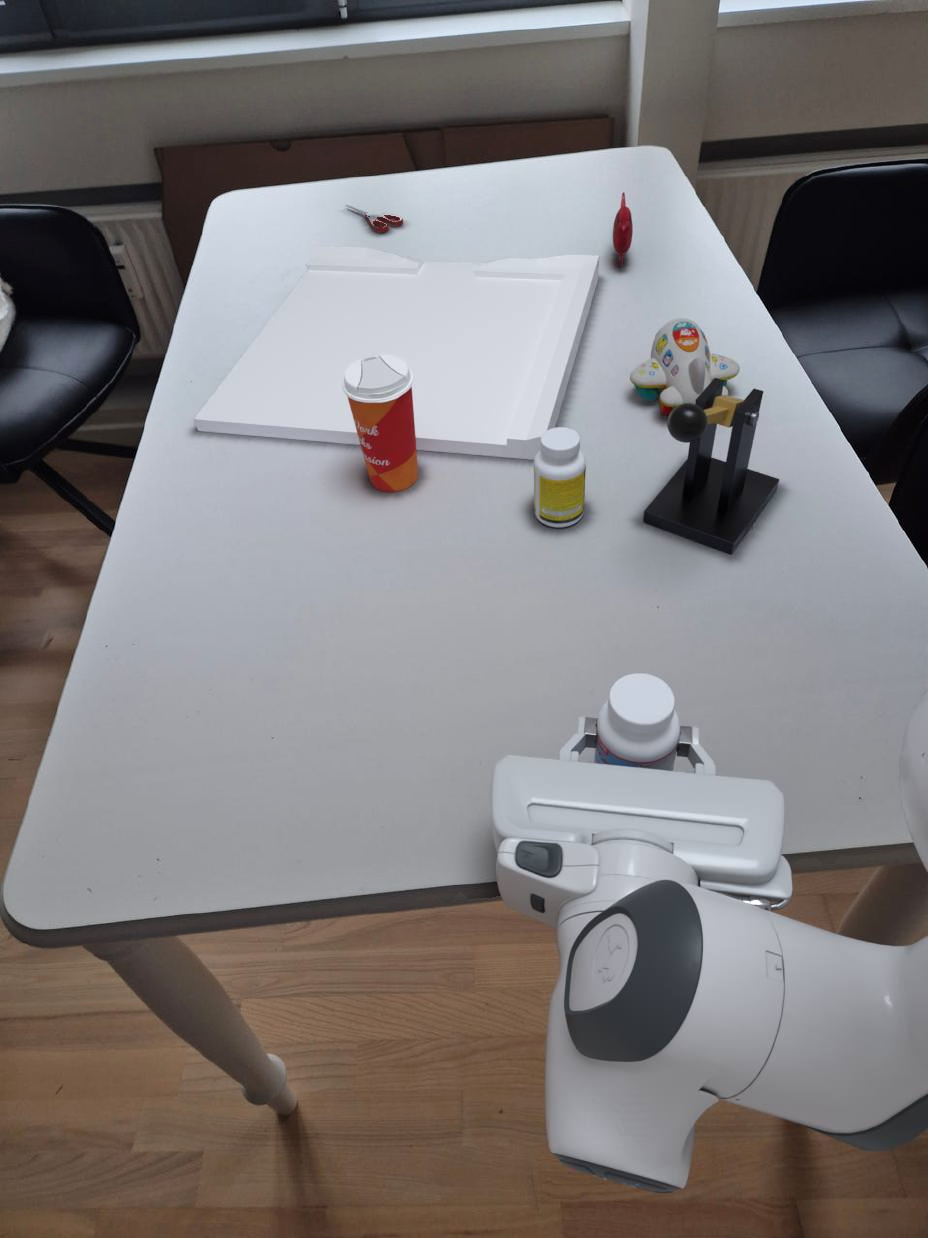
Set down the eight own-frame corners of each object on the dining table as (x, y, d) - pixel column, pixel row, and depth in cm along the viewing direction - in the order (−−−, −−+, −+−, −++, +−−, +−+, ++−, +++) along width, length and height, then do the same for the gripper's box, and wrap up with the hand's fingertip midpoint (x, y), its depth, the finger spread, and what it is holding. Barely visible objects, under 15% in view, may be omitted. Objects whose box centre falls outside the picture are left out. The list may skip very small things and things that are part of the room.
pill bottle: (580, 765, 71) (583, 680, 63) (646, 741, 72) (658, 654, 64) (614, 826, 67) (622, 744, 59) (684, 799, 68) (701, 714, 60)
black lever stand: (731, 554, 88) (754, 442, 78) (642, 521, 92) (653, 411, 82) (776, 489, 94) (803, 378, 84) (691, 461, 98) (707, 352, 88)
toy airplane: (647, 375, 96) (621, 303, 106) (639, 438, 103) (615, 365, 113) (765, 364, 96) (728, 293, 106) (749, 427, 103) (716, 355, 113)
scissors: (380, 234, 146) (380, 228, 145) (334, 212, 154) (333, 207, 153) (405, 223, 148) (405, 217, 148) (358, 202, 156) (357, 197, 155)
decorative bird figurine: (610, 283, 129) (614, 214, 121) (612, 231, 140) (615, 166, 133) (630, 282, 128) (635, 214, 121) (630, 231, 140) (634, 165, 133)
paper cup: (355, 466, 103) (333, 361, 92) (417, 450, 104) (402, 345, 94) (370, 505, 98) (348, 398, 87) (435, 489, 99) (421, 381, 88)
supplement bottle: (593, 520, 93) (596, 445, 86) (547, 534, 92) (547, 460, 85) (570, 491, 97) (572, 417, 89) (526, 505, 95) (524, 431, 88)
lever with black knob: (692, 449, 74) (704, 410, 73) (656, 438, 76) (667, 399, 74) (742, 431, 85) (753, 397, 84) (710, 421, 87) (720, 387, 85)
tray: (198, 430, 110) (189, 406, 108) (319, 267, 139) (315, 245, 137) (545, 460, 101) (545, 435, 98) (598, 278, 130) (599, 255, 127)
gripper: (806, 897, 52) (788, 713, 61) (473, 856, 56) (503, 689, 65) (786, 939, 57) (772, 763, 66) (480, 899, 60) (507, 737, 70)
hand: (636, 726), depth 65 cm, fingers closed on pill bottle, 6 cm apart
